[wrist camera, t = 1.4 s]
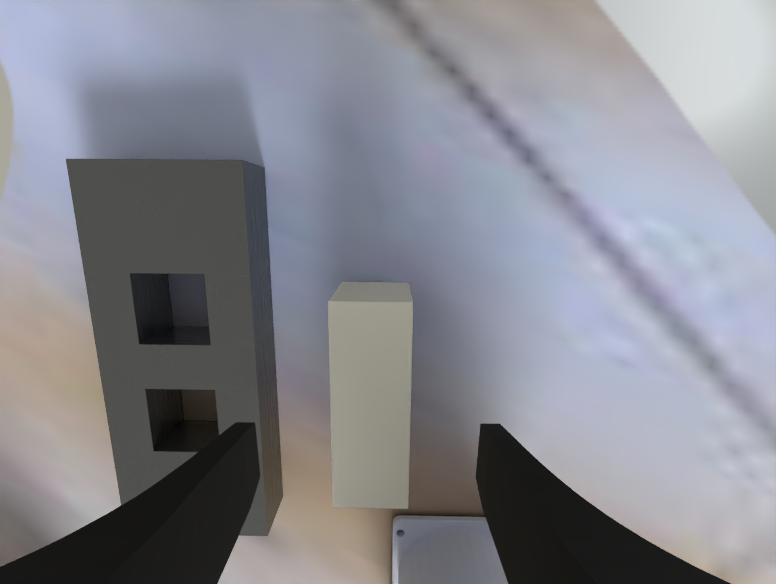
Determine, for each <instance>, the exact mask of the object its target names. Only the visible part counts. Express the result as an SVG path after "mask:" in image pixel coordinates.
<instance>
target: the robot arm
mask: <svg viewBox="0 0 776 584" xmlns="http://www.w3.org/2000/svg"><path fill="white" fill-rule="evenodd" d="M259 479H260V466H259V456H258V446H257V436H256V425H255V422H236V423H234V424H233V425H232V426H230V427H229V428H228V429H226V430H225V431H224V432H223V433H221V434H220V435H219V436H218V437H216V438H215V439H214V440H213V441H211V442H210V443H209V444H208V445H206V446H205V447H204V448H203V449H201V450H200V451H199V452H197V453H196V454H195V455H194V456H192V457H191V458H190V459H189V460H187V461H186V462H185V463H183V464H182V465H181V466H179V467H178V468H176V469H175V470H174V471H172V472H171V473H169V474H168V475H167V476H165V477H164V478H162V479H161V480H160V481H158V482H157V483H156V484H154V485H153V486H151V487H150V488H148V489H147V490H145V491H144V492H142V493H141V494H139V495H138V496H136V497H134V498H133V499H131V500H130V501H128V502H126V503H125V504H123V505H121V506H120V507H118V508H117V509H115V510H113V511H111V512H110V513H108V514H106V515H104V516H103V517H101V518H99V519H97V520H95V521H93V522H91V523H90V524H88V525H86V526H84V527H82V528H80V529H79V530H77V531H75V532H73V533H71V534H69V535H67V536H65V537H64V538H62V539H59V540H57V541H55V542H53V543H51V544H49V545H47V546H45V547H43V548H41V549H39V550H37V551H35V552H32V553H30V554H28V555H26V556H24V557H22V558H19V559H17V560H15V561H13V562H10V563H8V564H6V565H4V566H1V567H0V584H217V583H218V581H219V579H220V576H221V574H222V572H223V570H224V567H225V565H226V563H227V561H228V558H229V556H230V554H231V552H232V549H233V547H234V545H235V543H236V540H237V538H238V536H239V534H240V531H241V529H242V527H243V525H244V522H245V520H246V518H247V515H248V513H249V511H250V508H251V505H252V502H253V499H254V496H255V493H256V489H257V486H258V483H259ZM476 480H477V485H478V490H479V495H480V499H481V503H482V508H483V511H484V514H485V517H457V516H406V515H400V516H396V517H395V518H394V519H393V532H392V584H731V583H728V582H726V581H724V580H722V579H720V578H718V577H716V576H713V575H711V574H709V573H707V572H705V571H703V570H701V569H699V568H697V567H695V566H693V565H691V564H689V563H687V562H685V561H683V560H681V559H680V558H678V557H676V556H674V555H672V554H670V553H668V552H666V551H665V550H663V549H661V548H659V547H658V546H656V545H654V544H652V543H651V542H649V541H647V540H645V539H644V538H642V537H640V536H639V535H637V534H636V533H634V532H632V531H631V530H629V529H628V528H626V527H624V526H623V525H621V524H619V523H618V522H616V521H615V520H613V519H612V518H610V517H609V516H607V515H606V514H604V513H603V512H602V511H600V510H599V509H597V508H596V507H595V506H593V505H592V504H590V503H589V502H588V501H586V500H585V499H583V498H582V497H581V496H580V495H578V494H577V493H576V492H574V491H573V490H572V489H571V488H569V487H568V486H567V485H566V484H565V483H563V482H562V481H561V480H560V479H558V478H557V477H556V476H555V475H554V474H553V473H551V472H550V471H549V470H548V469H547V468H546V467H545V466H543V465H542V464H541V463H540V462H539V461H538V460H537V459H536V458H535V457H534V456H533V455H531V454H530V453H529V452H528V451H527V450H526V449H525V448H524V447H523V446H522V445H521V444H520V443H519V442H518V441H517V440H516V439H515V438H514V437H513V436H512V435H511V434H510V433H509V432H508V431H507V430H506V429H505V428H504V427H503V426H501V425H500V424H481V425H480V436H479V447H478V459H477V470H476ZM398 530H403V531H401V532H399V531H398Z"/></svg>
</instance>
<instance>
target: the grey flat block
mask: <svg viewBox="0 0 776 584" xmlns="http://www.w3.org/2000/svg"><path fill="white" fill-rule="evenodd" d="M66 162H67V168H68V175H69V181H70V187H71V193H72V200H73V206H74V212H75V218H76V225H77V231H78V237H79V243H80V250H81V256H82V262H83V268H84V275H85V281H86V287H87V294H88V300H89V306H90V312H91V319H92V325H93V331H94V337H95V344H96V350H97V356H98V362H99V369H100V375H101V381H102V387H103V394H104V400H105V406H106V412H107V419H108V425H109V431H110V437H111V444H112V450H113V456H114V462H115V469H116V475H117V481H118V488H119V494H120V500H121V505H123V504H125V503H126V502H128V501H130V500H131V499H133V498H134V497H136V496H138V495H139V494H141V493H142V492H144V491H145V490H147V489H148V488H150V487H151V486H153V485H154V484H156V483H157V482H158V481H160V480H161V479H162V478H164V477H165V476H167V475H168V474H169V473H171V472H172V471H174V470H175V469H176V468H178V467H179V466H181V465H182V464H183V463H185V462H186V461H187V460H189V459H190V458H191V457H192V456H194V455H195V454H196V453H197V452H199V451H200V450H201V449H203V448H204V447H205V446H206V445H208V444H209V443H210V442H211V441H213V440H214V439H215V438H216V437H218V436H219V435H220V434H221V433H223V432H224V431H225V430H226V429H228V428H229V427H230V426H232V425H233V424H234V423H236V422H255V425H256V436H257V446H258V456H259V466H260V479H259V483H258V486H257V489H256V493H255V496H254V499H253V502H252V505H251V508H250V511H249V513H248V515H247V518H246V520H245V522H244V525H243V527H242V529H241V531H240V534H239V535H245V536H268V534H269V531H270V528H271V526H272V523H273V521H274V518H275V516H276V513H277V510H278V508H279V505H280V503H281V500H282V498H283V490H282V472H281V454H280V436H279V418H278V401H277V383H276V365H275V347H274V329H273V312H272V294H271V276H270V258H269V240H268V223H267V205H266V187H265V169H264V167H261V166H258V165H255V164H252V163H249V162H246V161H243V160H151V159H66ZM167 274H204V278H205V289H206V299H207V310H208V321H209V327H173V320H172V311H171V303H170V294H169V285H168V276H167ZM180 389H189V390H215V396H216V407H217V418H218V421H184V417H183V408H182V399H181V391H180Z"/></svg>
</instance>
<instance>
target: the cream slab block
mask: <svg viewBox="0 0 776 584" xmlns="http://www.w3.org/2000/svg"><path fill="white" fill-rule="evenodd" d="M328 330H329V370H330V411H331V452H332V492H333V507H337V508H389V509H408V499H409V456H410V414H411V372H412V330H413V299H412V295H411V290H410V285H409V283H402V282H381V281H374V282H341V284H340V285H339V287H338V288H337V289H336V291H335V292H334V293H333V295H332V296H331V298H330V299H329V300H328Z"/></svg>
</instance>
